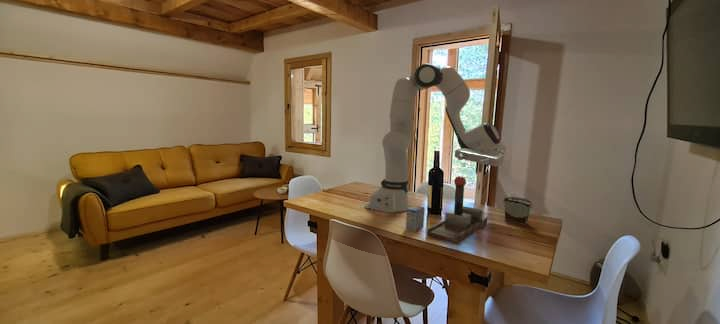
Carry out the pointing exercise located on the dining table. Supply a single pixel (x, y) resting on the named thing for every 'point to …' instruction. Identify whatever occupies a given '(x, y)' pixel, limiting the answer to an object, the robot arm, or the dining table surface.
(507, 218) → the food container
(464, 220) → the red knob lever
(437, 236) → the press base
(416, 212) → the medicine box
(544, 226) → the dining table surface
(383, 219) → the dining table surface
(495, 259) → the dining table surface
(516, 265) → the dining table surface
